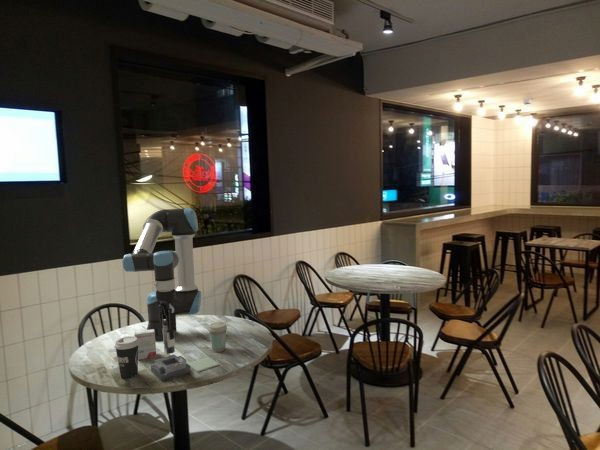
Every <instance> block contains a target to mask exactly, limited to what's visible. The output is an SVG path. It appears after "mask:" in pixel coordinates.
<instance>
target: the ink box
mask: <svg viewBox="0 0 600 450" xmlns="http://www.w3.org/2000/svg"><path fill="white" fill-rule="evenodd" d="M133 337H136V338H137V339H138V340H139V345H138V361H140V360H145V359H151V358H152V359H153V358H157V344H156V342H157V341H155V330H154V329H151V330H147V329H145V330H138V331H137V330H136V331H134V336H133Z"/></svg>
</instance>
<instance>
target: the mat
mask: <svg viewBox="0 0 600 450" xmlns="http://www.w3.org/2000/svg"><path fill="white" fill-rule="evenodd" d="M186 364H188V365H189V366H190V369H192V370H194V371H195V372H196V373H200V372H202V371H205V370H209V369H212V368H214V367H217V366H218V367H219V366H220V363H218V362H217V361H215V360H214V359H212V358H211V357H209V356H206V357H204V358H203V357H202V358H200V359H197V360H193V361H190V362H186Z"/></svg>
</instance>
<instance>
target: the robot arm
mask: <svg viewBox="0 0 600 450" xmlns="http://www.w3.org/2000/svg"><path fill="white" fill-rule="evenodd" d="M198 222H199V221H198V217H197V213H196V212H195V210H194V209H193V208H186V207H185V208H171V209H167V208H166V209H165V208H163V209H161V210H158V211H155V212H154V213H152V214H150V216H148V217H147V218H146V219H145V220H144V222H143V225H142V232H141V234H140V236H139V239H138V240H137V242H136V245H135V247H134V249H133V251H132V252H131V253H128V254H127V253H126V254H124V255H123V258H122V267H123V270H124V271H125V272H128V273H129V272H134V273H135V272H149V271H150V272H153V273H154V281H155V282H154V283H153V284H154V286H155V291H152V292H150V293H149V294H148V295H147V296H146V305H147V306H146V307H147V308H146V309H147V319H148V324H147V327H146V330H151V329H154V330H155V342H159V341H160V342H161V341H163V343H164V336H163V322H162V319H164V318H166V321H167V328H168V331H166V332H167V340H168V347H172V346H176V340H175V339H176V338H175V337H176V336H177V333H178V331H177V316H186V315H189V316H190V315H196V314H198V313H199V312H200V309H201V303H202V291H201V290H199V287H198V286H197V285H196V284H195V281H196V280H195V268H194V265H195V264H194V263H195V262H194V246H193V244H194V242H193V238H194V237H195V235H196V232H197V231H199V223H198ZM163 233H170V234H171V237H172V238H174V246H175V247H174V248H175V251H173V250H160V251H156V252H154V249H155V246H156V243H157V242H158V239H159V236H161V235H162V234H163ZM175 268H176V282H177V284H175V283H176V282H175Z"/></svg>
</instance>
